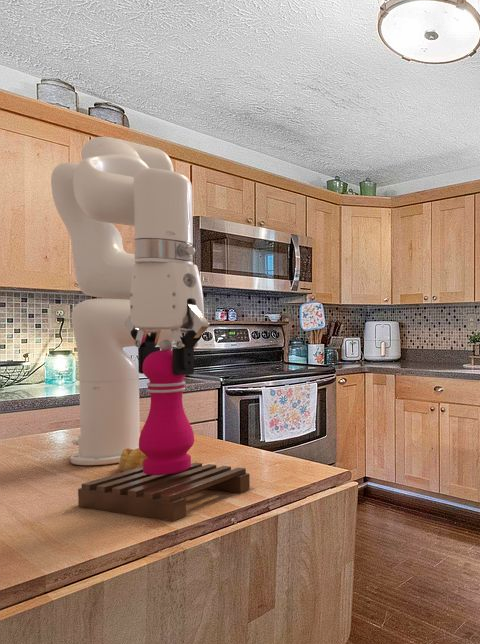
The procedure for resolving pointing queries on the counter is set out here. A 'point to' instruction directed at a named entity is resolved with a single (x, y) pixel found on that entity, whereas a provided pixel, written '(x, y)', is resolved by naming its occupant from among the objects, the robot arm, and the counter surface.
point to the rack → (159, 490)
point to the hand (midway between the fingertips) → (166, 372)
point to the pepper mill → (165, 417)
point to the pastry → (131, 459)
